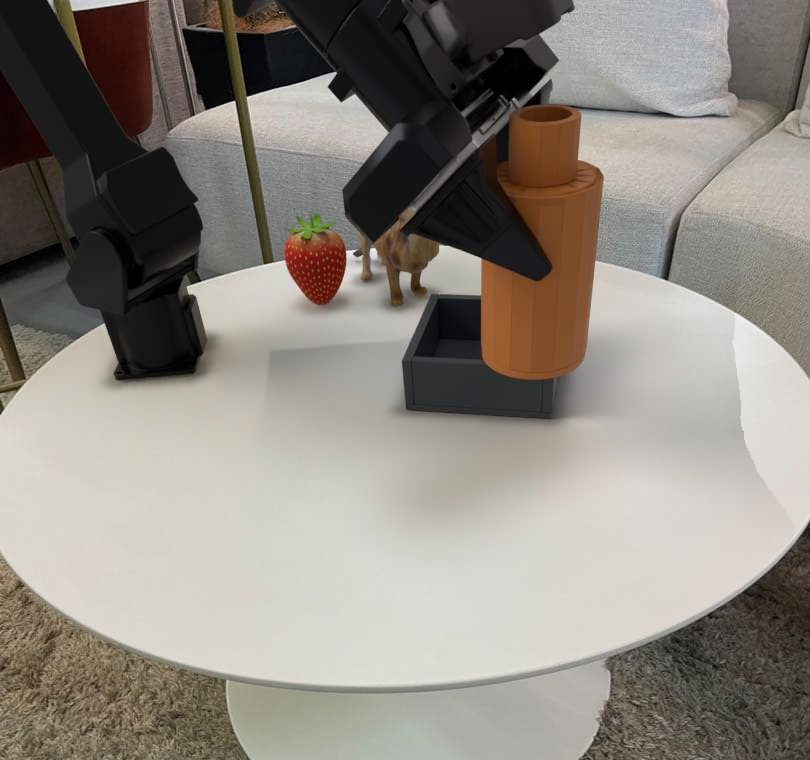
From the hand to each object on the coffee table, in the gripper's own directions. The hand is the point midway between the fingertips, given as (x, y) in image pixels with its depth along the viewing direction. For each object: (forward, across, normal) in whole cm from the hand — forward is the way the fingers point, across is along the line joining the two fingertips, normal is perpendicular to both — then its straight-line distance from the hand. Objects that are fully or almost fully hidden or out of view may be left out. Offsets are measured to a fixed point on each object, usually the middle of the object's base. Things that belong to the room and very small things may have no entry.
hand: (562, 250), depth 45 cm
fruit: (-8, +15, +27) cm, 32 cm away
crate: (+5, +7, +14) cm, 16 cm away
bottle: (+4, 0, +6) cm, 7 cm away
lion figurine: (-4, +20, +23) cm, 31 cm away
